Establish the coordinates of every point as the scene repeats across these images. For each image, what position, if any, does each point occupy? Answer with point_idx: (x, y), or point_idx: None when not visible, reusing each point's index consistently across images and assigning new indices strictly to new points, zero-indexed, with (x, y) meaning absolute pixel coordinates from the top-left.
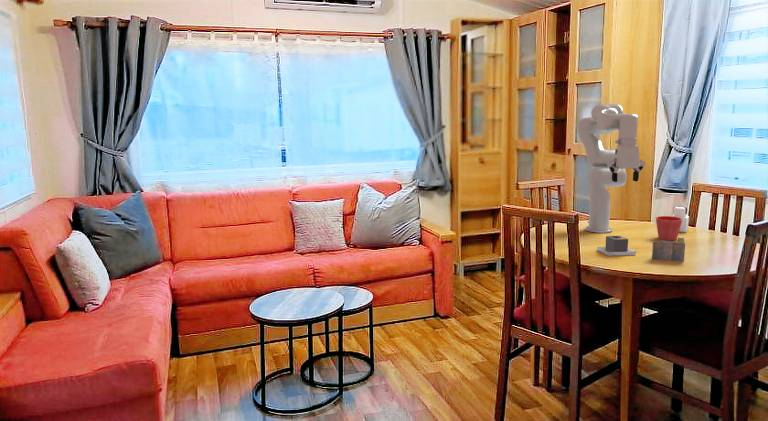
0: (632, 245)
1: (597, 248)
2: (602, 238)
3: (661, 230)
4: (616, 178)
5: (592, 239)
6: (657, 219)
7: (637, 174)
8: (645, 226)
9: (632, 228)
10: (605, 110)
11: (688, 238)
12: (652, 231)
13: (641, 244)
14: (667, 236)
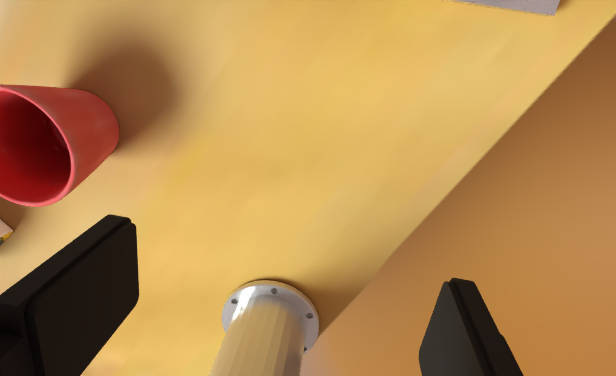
0: (310, 56)
1: (552, 11)
2: (344, 212)
3: (99, 126)
4: (481, 312)
5: (396, 211)
6: (78, 163)
7: (46, 276)
8: None
9: None
10: None
11: None
12: None
13: (259, 61)
14: (94, 100)
